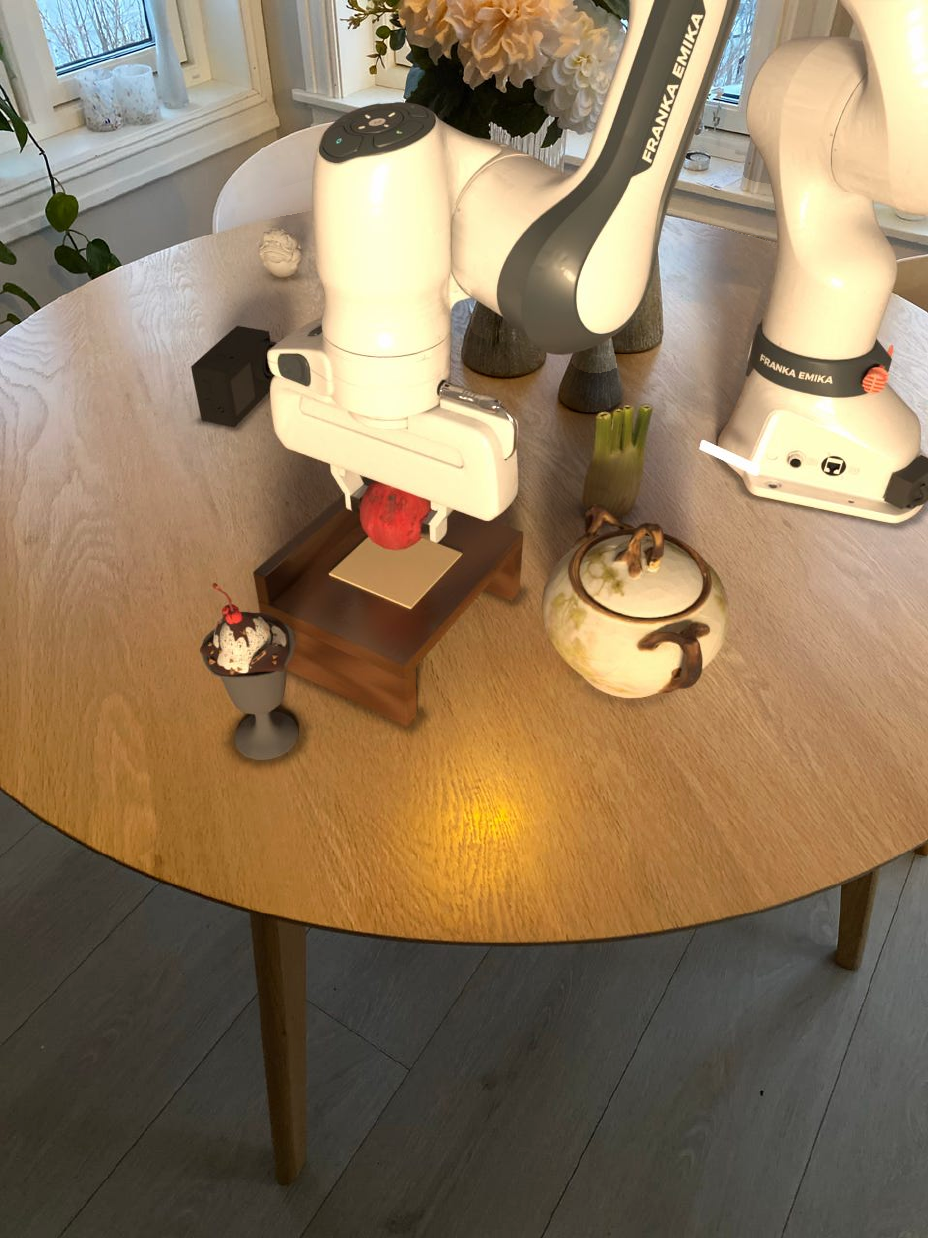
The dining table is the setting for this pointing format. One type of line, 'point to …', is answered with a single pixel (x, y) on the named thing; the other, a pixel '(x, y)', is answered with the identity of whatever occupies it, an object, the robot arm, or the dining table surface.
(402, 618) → the shelf
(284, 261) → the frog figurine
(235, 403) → the digital camera
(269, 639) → the sundae
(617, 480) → the fennel bulb
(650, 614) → the sugar bowl
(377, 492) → the pomegranate
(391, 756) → the dining table surface
